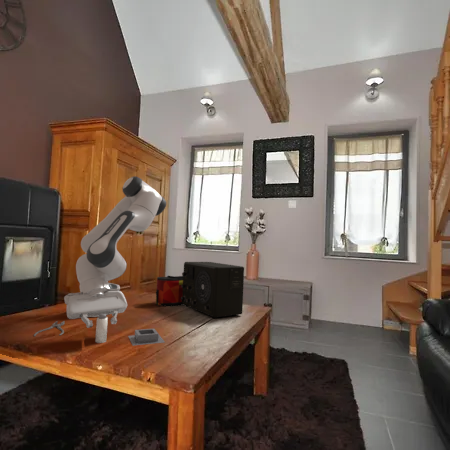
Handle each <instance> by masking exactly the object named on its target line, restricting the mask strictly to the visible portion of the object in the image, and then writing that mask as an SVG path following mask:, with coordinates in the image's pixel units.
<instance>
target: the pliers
mask: <svg viewBox="0 0 450 450" xmlns="http://www.w3.org/2000/svg"><path fill="white" fill-rule="evenodd" d="M64 325H65V320H63V321H62V322H60V323H58V320H57V321H55V322H54V323H52V325H50V327H47V328H43V329H40V330H38V331H36V332H35V333H34V334H33V337H36V336H37V335H38V334H39V333H42V332H45V331H48V330H52V329H54V328H57V330H59V331H60V332H61V333H59V334H58V336H62V335H63V334H64V333H65V331H64V329H63V328H62V327H63V326H64Z"/></svg>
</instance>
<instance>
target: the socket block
mask: <svg viewBox="0 0 450 450" xmlns="http://www.w3.org/2000/svg"><path fill="white" fill-rule="evenodd" d="M128 338H129V341H130V343H131V345H132V346H143V345H153V344H154V345H155V344H164V343H166V341H165V340H164V339H163V338H162V337H161V335H160V334H159V332H158V331H157V330H156V329H155V328H143V329H141V328H140V329H135V330H134V334H132V335H128Z"/></svg>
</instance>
